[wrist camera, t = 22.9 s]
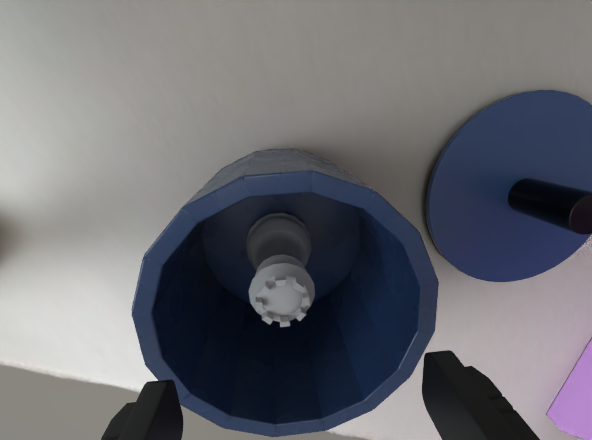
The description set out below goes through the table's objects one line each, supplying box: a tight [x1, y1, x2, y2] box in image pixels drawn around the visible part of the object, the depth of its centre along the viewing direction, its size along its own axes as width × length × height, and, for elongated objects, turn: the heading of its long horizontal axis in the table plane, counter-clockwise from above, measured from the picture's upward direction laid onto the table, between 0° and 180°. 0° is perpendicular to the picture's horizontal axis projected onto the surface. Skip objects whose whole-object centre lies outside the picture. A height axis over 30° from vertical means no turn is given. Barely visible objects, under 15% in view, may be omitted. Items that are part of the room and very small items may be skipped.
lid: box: [426, 90, 592, 282], centre depth 20 cm, size 14×14×6 cm
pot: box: [132, 149, 439, 437], centre depth 18 cm, size 13×13×10 cm
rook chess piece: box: [246, 213, 315, 327], centre depth 18 cm, size 4×4×8 cm
